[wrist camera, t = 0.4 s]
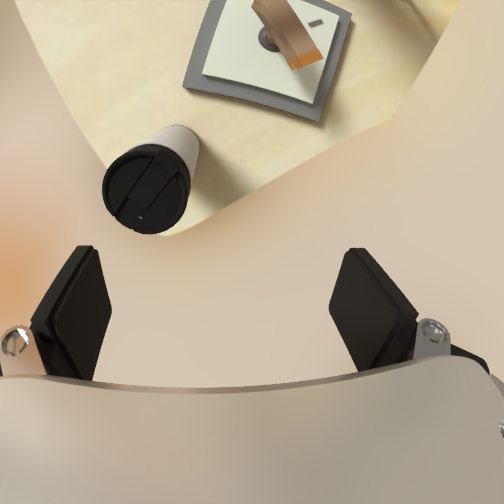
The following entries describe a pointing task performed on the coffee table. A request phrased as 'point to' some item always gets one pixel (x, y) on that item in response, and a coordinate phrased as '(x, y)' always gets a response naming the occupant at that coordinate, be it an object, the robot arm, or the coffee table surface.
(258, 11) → the t key
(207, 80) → the cover
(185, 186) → the travel mug
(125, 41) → the coffee table surface
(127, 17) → the coffee table surface
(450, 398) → the robot arm
